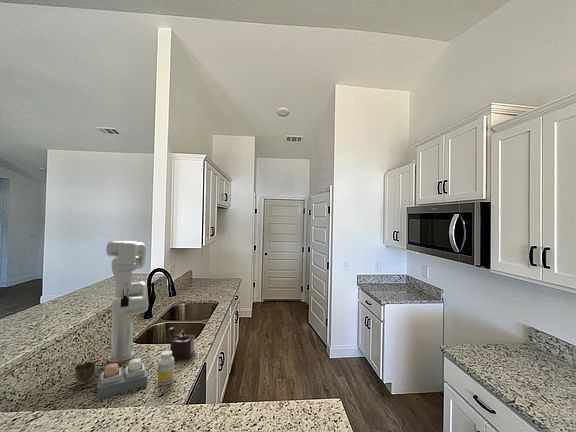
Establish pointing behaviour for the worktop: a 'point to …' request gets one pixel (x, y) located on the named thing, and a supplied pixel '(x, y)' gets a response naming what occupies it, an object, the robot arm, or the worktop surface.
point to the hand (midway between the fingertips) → (124, 306)
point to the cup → (84, 372)
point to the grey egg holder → (121, 381)
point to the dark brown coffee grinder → (181, 344)
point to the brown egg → (111, 370)
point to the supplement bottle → (166, 368)
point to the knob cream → (135, 365)
